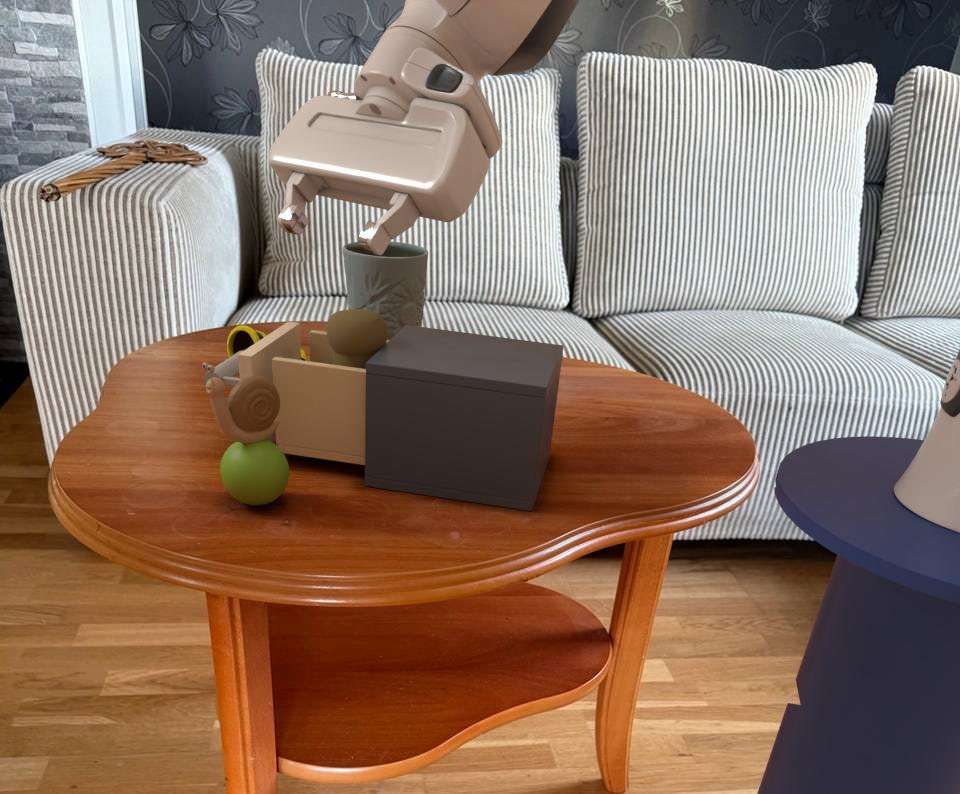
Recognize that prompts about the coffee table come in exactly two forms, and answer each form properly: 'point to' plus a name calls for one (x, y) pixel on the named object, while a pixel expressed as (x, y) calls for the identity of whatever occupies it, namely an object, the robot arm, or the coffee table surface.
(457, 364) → the cabinet
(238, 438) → the snail figurine
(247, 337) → the opera glasses
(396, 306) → the grey embossed cup
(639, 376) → the coffee table surface
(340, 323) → the cork
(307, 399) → the drawer
